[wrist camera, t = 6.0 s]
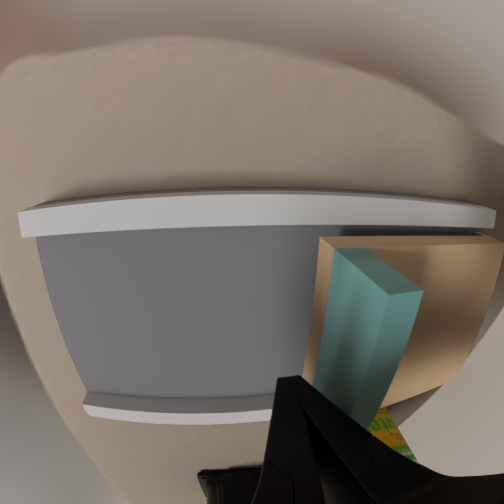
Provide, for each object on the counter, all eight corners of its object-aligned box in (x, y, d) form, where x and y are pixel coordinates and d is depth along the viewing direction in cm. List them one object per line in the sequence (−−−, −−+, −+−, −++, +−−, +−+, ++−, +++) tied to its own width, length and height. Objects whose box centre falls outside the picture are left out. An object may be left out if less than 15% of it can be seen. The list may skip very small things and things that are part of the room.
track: (430, 357, 16) (446, 375, 14) (97, 391, 13) (87, 417, 11) (472, 202, 12) (499, 211, 10) (43, 202, 9) (14, 213, 7)
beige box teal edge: (436, 356, 14) (481, 406, 9) (290, 391, 13) (319, 477, 8) (474, 229, 11) (547, 264, 6) (308, 227, 10) (388, 295, 5)
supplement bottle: (388, 381, 16) (457, 486, 6) (359, 427, 17) (406, 521, 8) (317, 390, 15) (376, 529, 6) (296, 437, 16) (331, 550, 7)
